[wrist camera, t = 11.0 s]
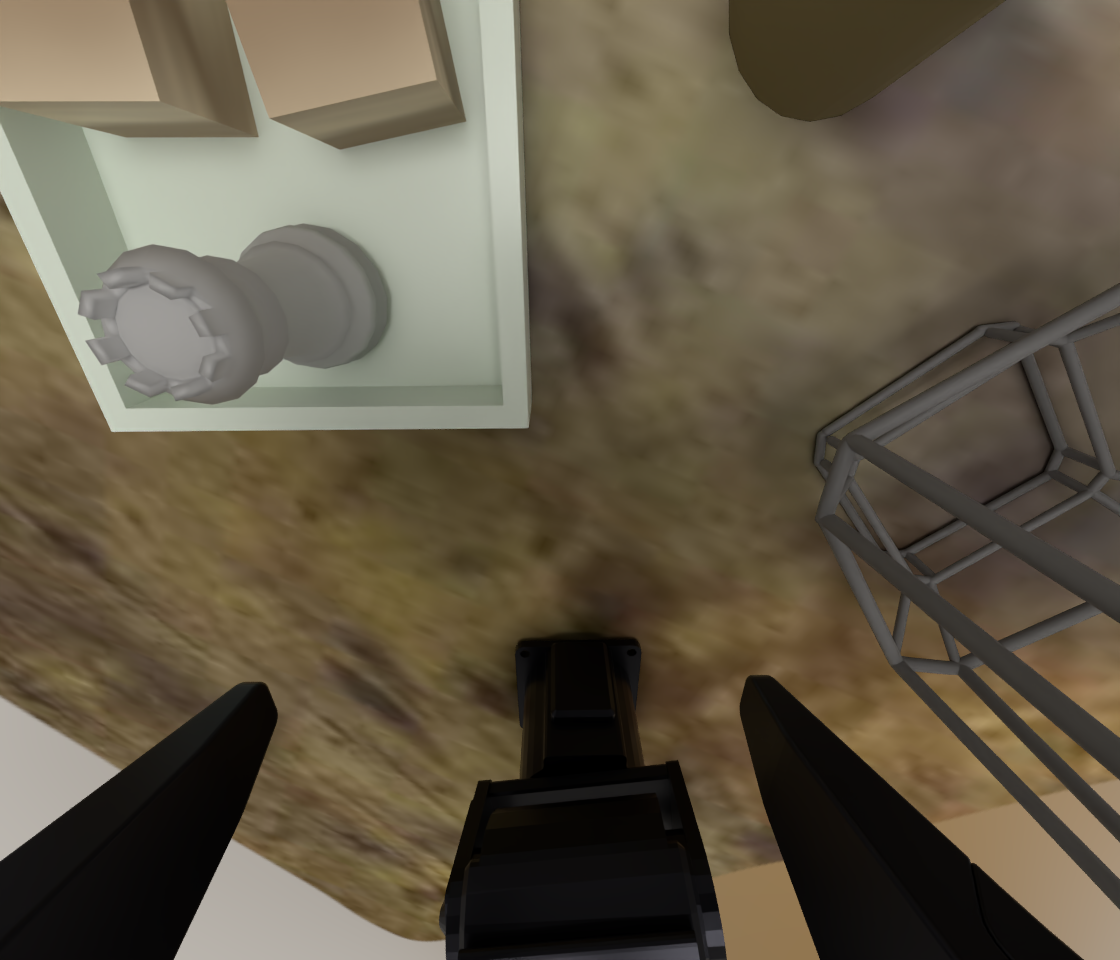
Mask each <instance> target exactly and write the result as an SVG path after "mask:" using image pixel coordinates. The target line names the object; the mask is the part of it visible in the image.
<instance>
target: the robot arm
mask: <svg viewBox="0 0 1120 960" xmlns="http://www.w3.org/2000/svg"><path fill="white" fill-rule="evenodd" d="M629 649H633V650H629ZM524 650H526V652H525V651H524ZM515 658H516V673H517V689H518V704H519V720H520V726H521V727H522V728H523V732H522V748H521V764H520V779H515V780H506V781H496V782H492V780H483V781H478V784H477V788H476V791H475V795H474V798H473V800H472V801H471V803H470V807H469V810H468V814H467V817H466V821H465V825H464V828H463V832H462V835H461V839H460V842H459V846H458V850H457V853H456V857H455V860H454V864H453V867H452V871H451V875H450V878H449V882H448V885H447V889H446V893H445V900H444V902H443V904H442V907H441V910H440V916H439V925H440V928H441V930H442V931H443V933H444V935H445V936H446V960H727V958H726V949H725V942H724V936H723V929H722V924H721V919H720V914H719V908H718V904H717V898H716V894H715V889H714V885H713V880H712V876H711V872H710V868H709V864H708V860H707V856H706V852H705V849H704V845H703V842H702V839H701V835H700V832H699V829H698V825H697V822H696V819H695V815H694V812H693V808H692V805H691V802H690V798H689V795H688V792H687V788H686V785H685V782H684V778H683V775H682V772H681V768H680V765H679V762H678V760H675V761H666V762H665V763H666V764H660V765H651V766H645V765H644V760H643V754H642V748H641V743H640V737H639V731H638V726H637V720H636V714H635V710H636V700H637V691H638V681H639V671H640V661H641V648H640V644H639V642H638V641H636V640H562V641H522V642H520V643H518V644H517V645H516V652H515ZM740 716H741V720H742V724H743V728H744V732H745V736H746V740H747V743H748V747H749V751H750V755H751V759H752V763H753V767H754V770H755V774H756V778H757V782H758V786H759V790H760V793H761V797H762V800H763V804H764V807H765V810H766V813H767V816H768V819H769V822H770V824H771V827H772V830H773V833H774V835H775V838H776V841H777V843H778V846H779V849H780V852H781V854H782V857H783V860H784V863H785V865H786V868H787V871H788V874H789V876H790V879H791V882H792V884H793V887H794V890H795V893H796V895H797V898H798V901H799V904H800V906H801V909H802V912H803V914H804V917H805V920H806V923H807V925H808V928H809V931H810V934H811V936H812V939H813V942H814V945H815V947H816V950H817V953H818V955H819V958H820V960H1084V959H1082V958H1081V957H1080V956H1079V955H1078V954H1076V953H1075V952H1074V951H1073V950H1072V949H1071V948H1069V947H1068V946H1067V945H1066V944H1065V943H1064V942H1062V941H1061V940H1060V939H1058V937H1056V936H1055V935H1054V934H1053V933H1052V932H1051V931H1049V930H1048V929H1047V928H1046V927H1045V926H1044V925H1043V924H1042V923H1040V922H1039V921H1038V920H1037V919H1036V918H1035V917H1034V916H1032V915H1031V914H1030V913H1029V912H1028V911H1027V910H1026V909H1025V908H1024V907H1023V906H1021V905H1020V904H1019V903H1018V902H1017V901H1016V900H1015V899H1014V898H1012V897H1011V896H1010V895H1009V894H1008V893H1007V892H1006V891H1005V890H1004V889H1002V888H1001V887H1000V886H999V885H998V884H997V883H996V882H995V881H994V880H993V879H992V878H990V877H989V876H988V875H987V874H986V873H985V872H984V871H983V870H982V869H981V868H980V867H978V866H977V865H976V864H975V863H971V862H970V859H969V858H968V857H967V856H966V855H965V854H964V853H963V852H962V851H961V850H960V849H959V848H958V847H957V846H956V845H954V844H953V843H952V842H951V841H950V840H949V839H948V838H947V837H946V836H945V835H944V834H943V833H941V832H940V831H939V830H938V829H937V828H936V827H935V826H934V825H933V824H932V823H931V822H929V821H928V820H927V819H926V818H925V817H924V816H923V815H922V814H921V813H920V812H919V811H918V810H916V809H915V808H914V807H913V806H912V805H911V804H910V803H909V802H908V801H907V800H906V799H905V798H903V797H902V796H901V795H900V794H899V793H898V792H897V791H896V790H895V789H894V788H893V787H892V786H890V785H889V784H888V783H887V782H886V781H885V780H884V779H883V778H882V777H881V776H880V775H878V774H877V773H876V772H875V771H874V770H873V769H872V768H871V767H870V766H869V765H868V764H867V763H865V762H864V761H863V760H862V759H861V758H860V757H859V756H858V755H857V754H856V753H855V752H854V751H852V750H851V749H850V748H849V747H848V746H847V745H846V744H845V743H844V742H843V741H842V740H841V739H839V738H838V737H837V736H836V735H835V734H834V733H833V732H832V731H831V730H830V729H829V728H827V727H826V726H825V725H824V724H823V723H822V722H821V721H820V720H819V719H818V718H817V717H816V716H814V715H813V714H812V713H811V712H810V711H809V710H808V709H807V708H806V707H805V706H804V705H803V704H801V703H800V702H799V701H798V700H797V699H796V698H795V697H794V696H793V695H792V694H791V693H790V692H788V691H787V690H786V689H785V688H784V687H783V686H782V685H781V684H780V683H779V682H778V681H776V680H775V679H774V678H773V677H771V676H769V675H750V676H748V677H747V679H746V682H745V686H744V690H743V694H742V698H741V702H740ZM277 718H278V713H277V708H276V706H275V703H274V701H273V698H272V696H271V693H270V691H269V689H268V686H267V685H266V684H265V683H264V682H242V683H240V684H238V685H236V686H234V687H233V688H232V689H230V690H229V691H228V692H226V693H225V694H224V695H222V696H221V697H220V698H218V699H217V700H216V701H214V702H213V703H212V704H210V705H209V706H208V707H206V708H205V709H204V710H202V711H201V712H200V713H198V714H197V715H196V716H194V717H193V718H192V719H190V720H189V721H188V722H186V723H185V724H184V725H182V726H181V727H180V728H178V729H177V730H176V731H174V732H173V733H171V734H170V735H169V736H167V737H166V738H165V739H163V740H162V741H161V742H159V743H158V744H157V745H155V746H154V747H153V748H151V749H150V750H149V751H147V752H146V753H145V754H143V755H142V756H141V757H139V758H138V759H137V760H135V761H134V762H133V763H131V764H130V765H129V766H127V767H126V768H125V769H123V770H122V771H121V772H119V773H118V774H117V775H116V776H114V777H113V778H111V779H110V780H109V781H107V782H106V783H105V784H103V785H102V786H101V787H99V788H98V789H97V790H95V791H94V792H93V793H91V794H90V795H89V796H87V797H86V798H84V799H83V800H82V801H81V802H79V803H78V804H77V805H75V806H74V807H72V808H71V809H70V810H69V811H67V812H66V813H65V814H63V815H62V816H60V817H59V818H58V819H56V820H55V821H54V822H52V823H51V824H50V825H48V826H47V827H46V828H44V829H43V830H42V831H40V832H39V833H38V834H36V835H35V836H34V837H32V838H31V839H30V840H28V841H27V842H26V843H24V844H23V845H22V846H20V847H19V848H18V849H16V850H15V851H14V852H12V853H11V854H9V855H8V856H7V857H5V858H4V859H3V860H2V861H0V960H174V958H175V956H176V954H177V952H178V949H179V947H180V945H181V943H182V941H183V939H184V937H185V935H186V933H187V931H188V928H189V926H190V924H191V922H192V920H193V918H194V916H195V914H196V912H197V909H198V907H199V905H200V903H201V901H202V899H203V897H204V895H205V893H206V891H207V889H208V886H209V884H210V882H211V880H212V878H213V876H214V873H215V872H216V870H217V867H218V865H219V863H220V861H221V859H222V857H223V855H224V853H225V850H226V849H227V846H228V844H229V842H230V840H231V838H232V836H233V834H234V832H235V830H236V827H237V825H238V823H239V821H240V819H241V816H242V814H243V812H244V809H245V807H246V804H247V802H248V799H249V797H250V794H251V791H252V789H253V786H254V783H255V780H256V778H257V775H258V772H259V770H260V767H261V764H262V762H263V759H264V756H265V753H266V751H267V748H268V745H269V743H270V740H271V737H272V735H273V732H274V729H275V726H276V723H277Z"/></svg>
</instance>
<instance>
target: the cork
mask: <svg viewBox="0 0 1120 960" xmlns="http://www.w3.org/2000/svg"><path fill="white" fill-rule="evenodd" d="M1004 1H1006V0H729V35H730V38H731V42H732V46H733V50H734V54H735V57H736V61H737V65H738V69H739V71H740V73H741V75H742V76H743V78H744V79H745V81H746V82H747V84H748V85H749V87H750V88H751V90H752V92H753V93H754V95H755V96H756V98H757V99H758V100H760V101H761V102H762V103H764V104H765V105H767V106H768V107H770V108H771V109H772V110H774V111H775V112H777V113H778V114H779V115H781V116H785V117H790V118H795V119H800V120H805V121H810V122H811V121H816V120H821V119H826V118H831V117H836V116H841V115H843V114H845V113H846V112H848V111H850V110H852V109H853V108H855V107H857V106H859V105H861V104H862V103H864V102H866V101H868V100H869V99H871V98H873V97H874V96H875V95H877V94H878V93H879V92H881V91H882V90H884V89H885V88H886V87H888V86H889V85H890V84H892V83H893V82H895V81H896V80H897V79H899V78H900V77H901V76H903V75H904V74H906V73H907V72H908V71H910V70H911V69H912V68H914V67H915V66H917V65H918V64H919V63H921V62H922V61H923V60H925V59H926V58H928V57H929V56H930V55H932V54H933V53H934V52H936V51H937V50H938V49H940V48H941V47H943V46H944V45H945V44H947V43H948V42H949V41H951V40H952V39H954V38H955V37H956V36H958V35H959V34H960V33H962V32H963V31H965V30H966V29H967V28H969V27H970V26H971V25H973V24H974V23H976V22H977V21H978V20H980V19H981V18H982V17H984V16H985V15H987V14H988V13H989V12H991V11H992V10H993V9H995V8H996V7H998V6H999V5H1000V4H1002V3H1003V2H1004Z"/></svg>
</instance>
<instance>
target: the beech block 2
mask: <svg viewBox="0 0 1120 960" xmlns="http://www.w3.org/2000/svg"><path fill="white" fill-rule="evenodd" d="M225 1H226V3H227V6H228V9H229V11H230V14H231V17H232V19H233V22H234V25H235V28H236V30H237V33H238V36H239V38H240V41H241V44H242V46H243V49H244V52H245V54H246V57H247V60H248V63H249V65H250V68H251V71H252V73H253V76H254V79H255V81H256V84H257V87H258V89H259V92H260V95H261V97H262V100H263V103H264V106H265V108H266V111H267V114H268V116H269V119H272V120H274V121H276V122H278V123H281V124H283V125H285V126H288V127H290V128H292V129H294V130H297V131H299V132H301V133H303V134H306V135H308V136H310V137H312V138H315V139H317V140H319V141H321V142H324V143H326V144H328V145H330V146H333V147H335V148H337V149H339V150H341V149H345V148H350V147H354V146H359V145H363V144H368V143H372V142H377V141H381V140H386V139H390V138H395V137H399V136H403V135H408V134H412V133H417V132H421V131H426V130H430V129H435V128H439V127H444V126H448V125H453V124H457V123H462V122H466V118H465V113H464V108H463V104H462V99H461V95H460V90H459V86H458V81H457V76H456V72H455V67H454V63H453V58H452V54H451V49H450V44H449V40H448V35H447V31H446V26H445V22H444V17H443V12H442V8H441V3H440V0H225Z"/></svg>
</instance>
